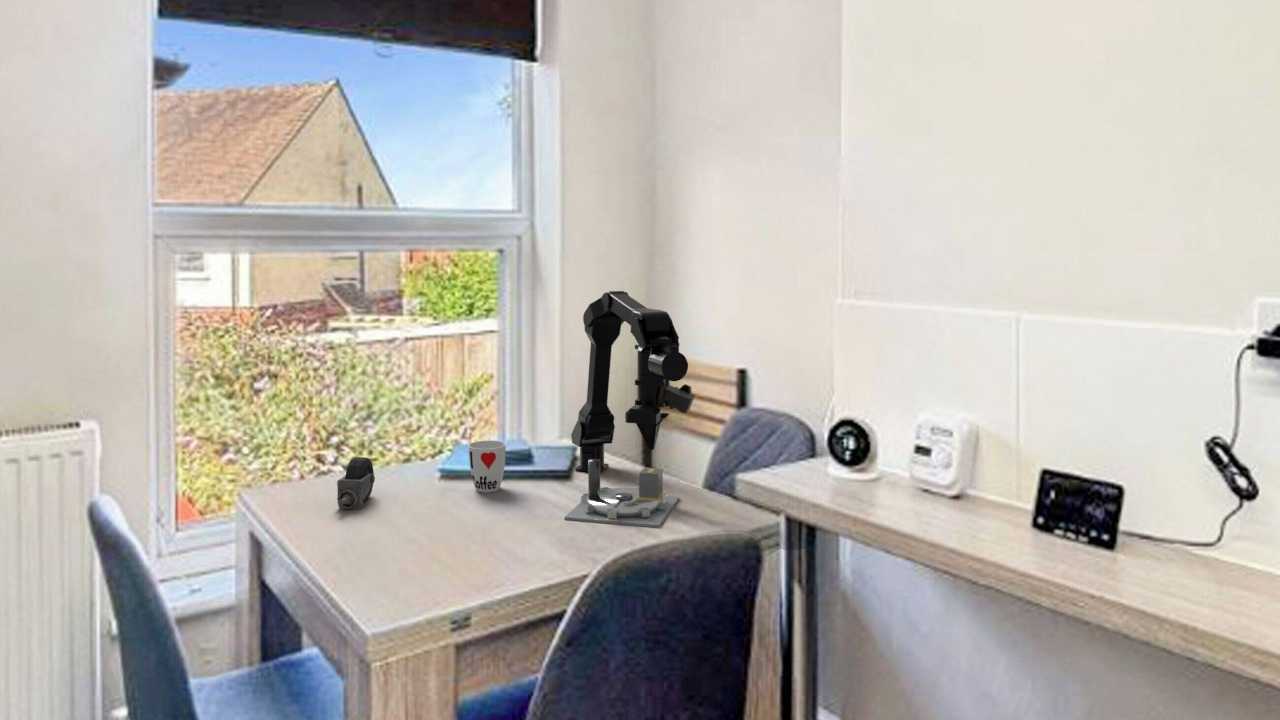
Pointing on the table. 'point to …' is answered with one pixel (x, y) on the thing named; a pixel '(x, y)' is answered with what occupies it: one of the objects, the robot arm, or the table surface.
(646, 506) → the sprocket
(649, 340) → the robot arm
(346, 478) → the caster wheel
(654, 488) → the link block
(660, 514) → the base plate
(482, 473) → the cup
